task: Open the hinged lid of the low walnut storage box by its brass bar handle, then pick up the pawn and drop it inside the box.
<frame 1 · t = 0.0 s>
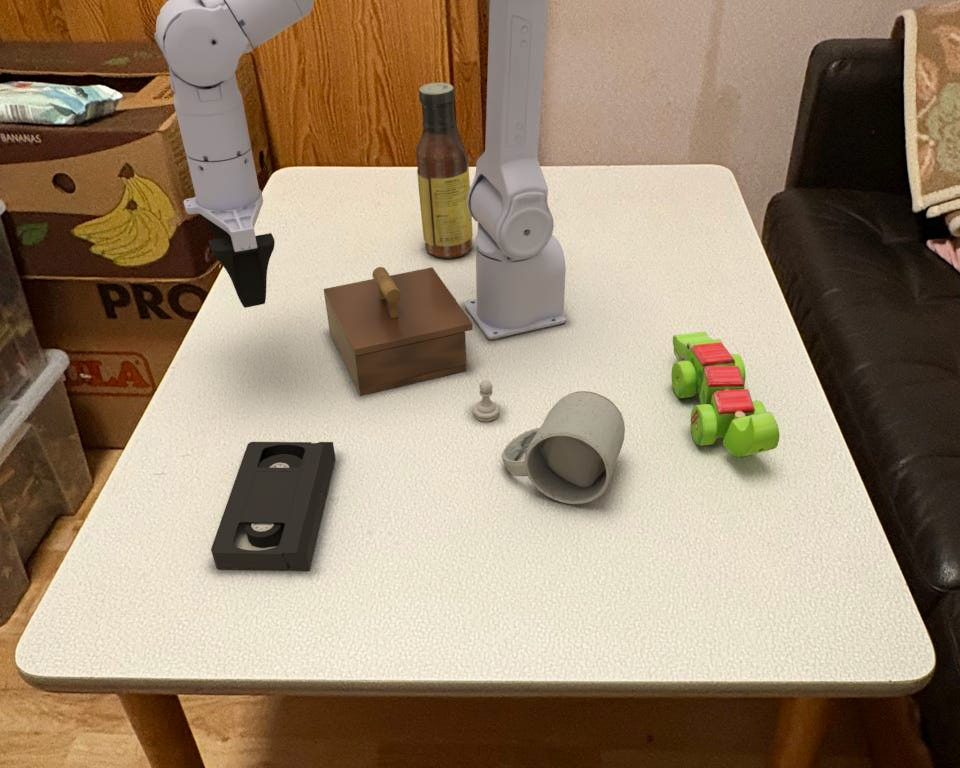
hand: (246, 285, 90), 10 cm above the table, tool pointing down, fingers open, 7 cm apart
sauce bottle: (447, 250, 116), on the table
vhs tape: (279, 511, 80), on the table
lid: (394, 294, 94), point 7 cm above the table, hinge at 0.0°
pawn: (486, 415, 90), on the table
ceramic mug: (560, 476, 83), on the table
toy crocodile: (714, 414, 90), on the table
box: (396, 351, 99), on the table
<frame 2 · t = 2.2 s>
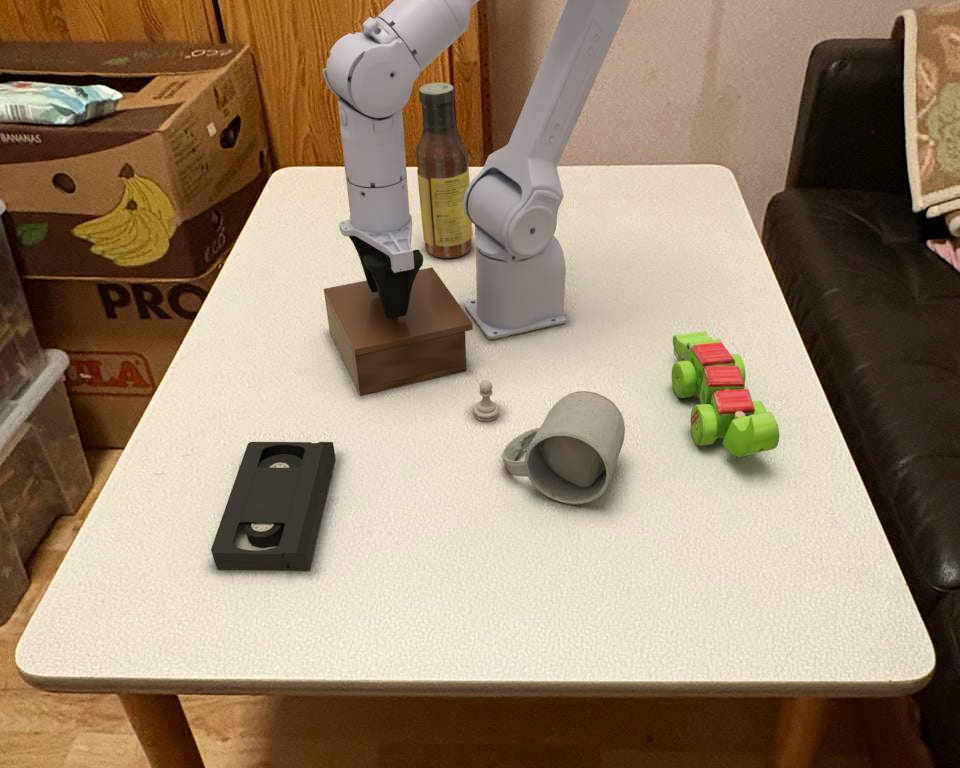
hand: (388, 302, 94), 6 cm above the table, tool pointing down, fingers closed on lid, 5 cm apart
lid: (394, 294, 94), point 7 cm above the table, hinge at 0.0°, touching gripper
everything else where it was.
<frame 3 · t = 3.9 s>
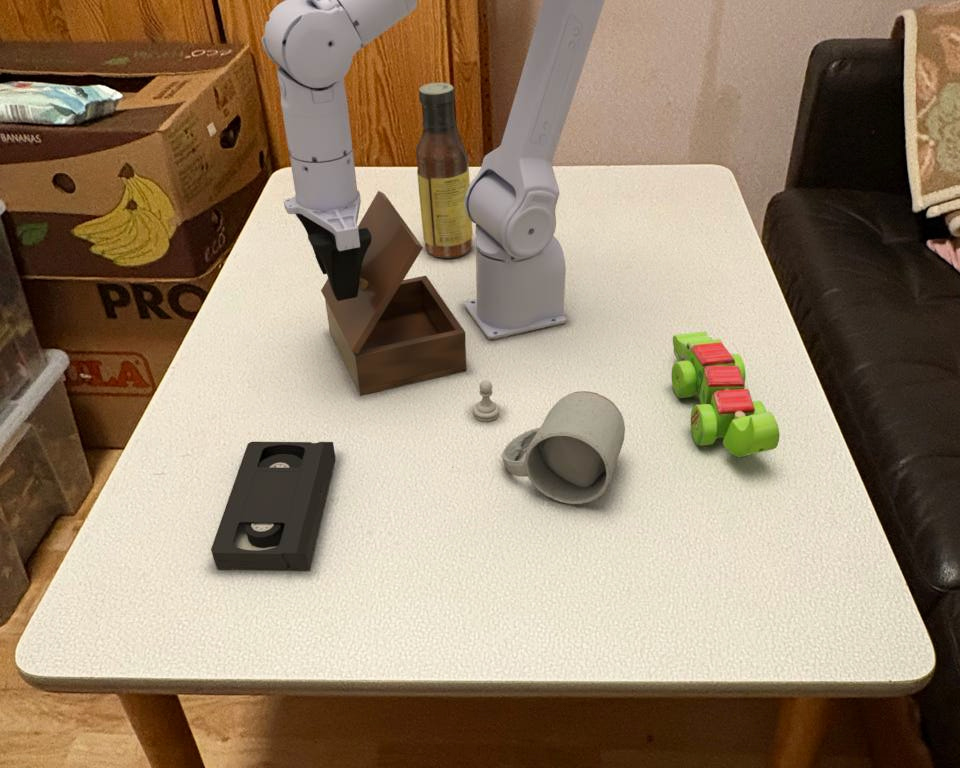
hand: (339, 283, 91), 9 cm above the table, tool pointing down, fingers closed on lid, 5 cm apart
lid: (354, 264, 90), point 11 cm above the table, hinge at 53.6°, touching gripper
everything else where it was.
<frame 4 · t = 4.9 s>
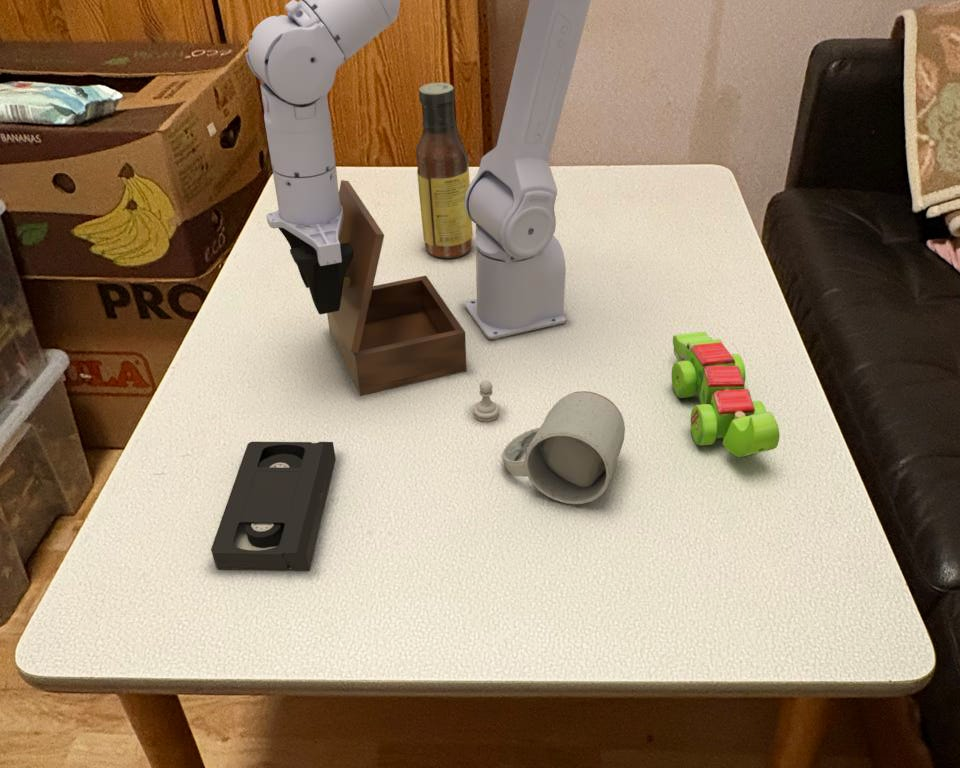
hand: (321, 297, 91), 8 cm above the table, tool pointing down, fingers closed on lid, 5 cm apart
lid: (333, 264, 89), point 12 cm above the table, hinge at 72.6°, touching gripper
everything else where it was.
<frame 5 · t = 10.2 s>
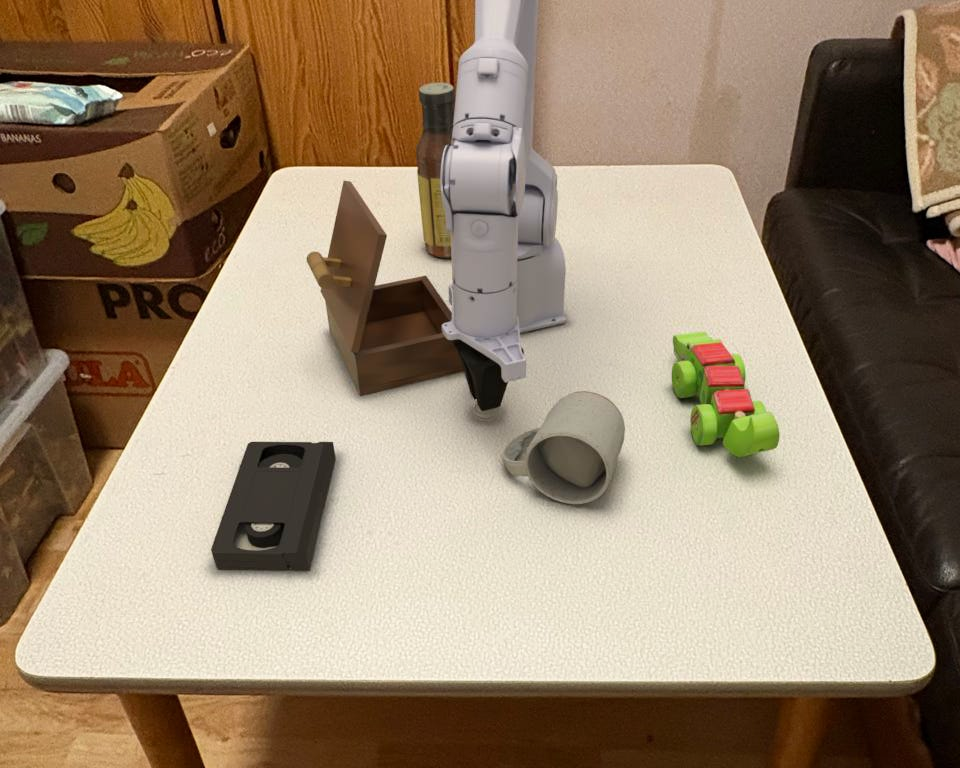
hand: (486, 401, 89), 2 cm above the table, tool pointing down, fingers closed on pawn
lid: (334, 263, 90), point 12 cm above the table, hinge at 71.5°
pawn: (486, 415, 90), on the table, touching gripper
everything else where it was.
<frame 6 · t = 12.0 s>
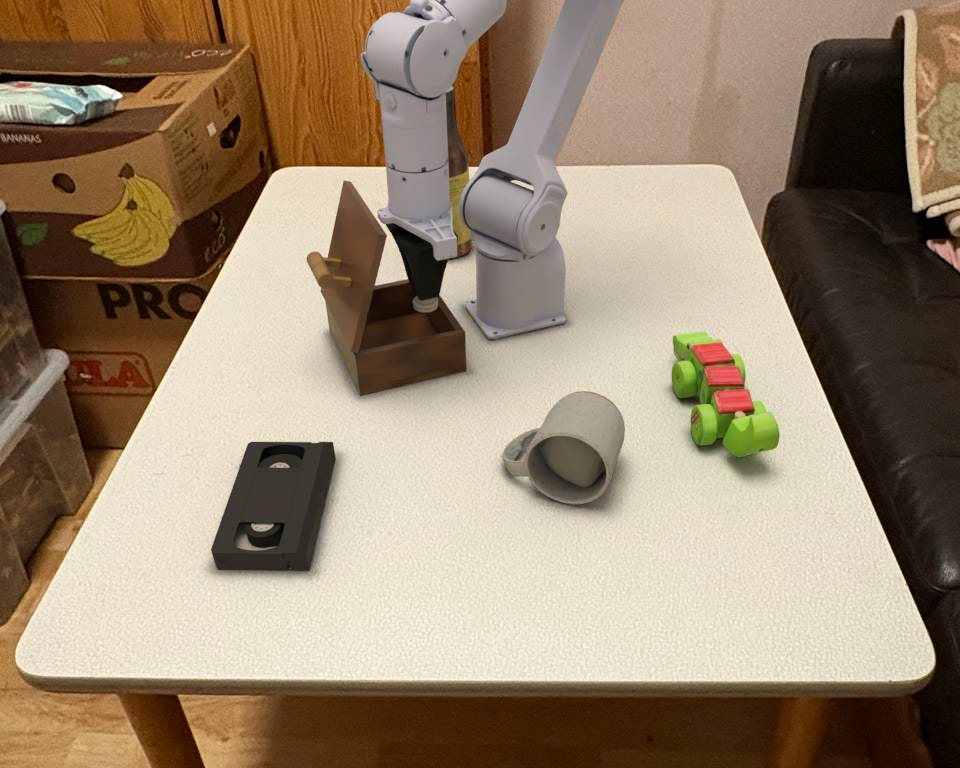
hand: (425, 292, 92), 8 cm above the table, tool pointing down, fingers closed on pawn
pawn: (425, 308, 93), point 7 cm above the table, touching gripper
everything else where it was.
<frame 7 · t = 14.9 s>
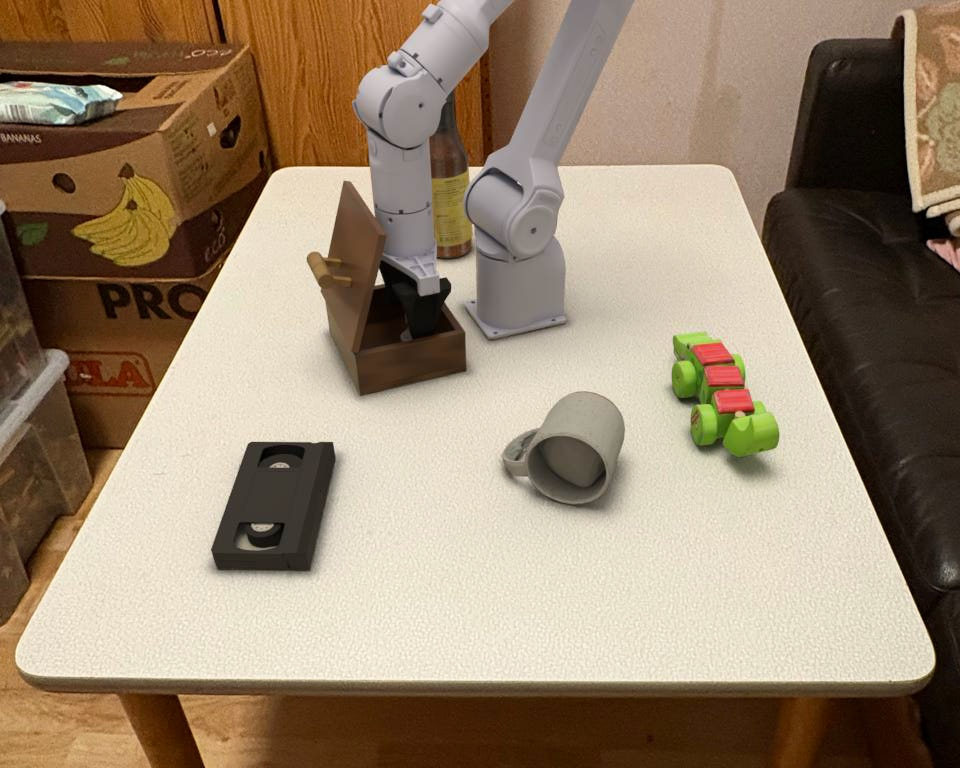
hand: (412, 322, 97), 3 cm above the table, tool pointing down, fingers open, 7 cm apart
pawn: (412, 343, 99), point 1 cm above the table, touching box
everything else where it was.
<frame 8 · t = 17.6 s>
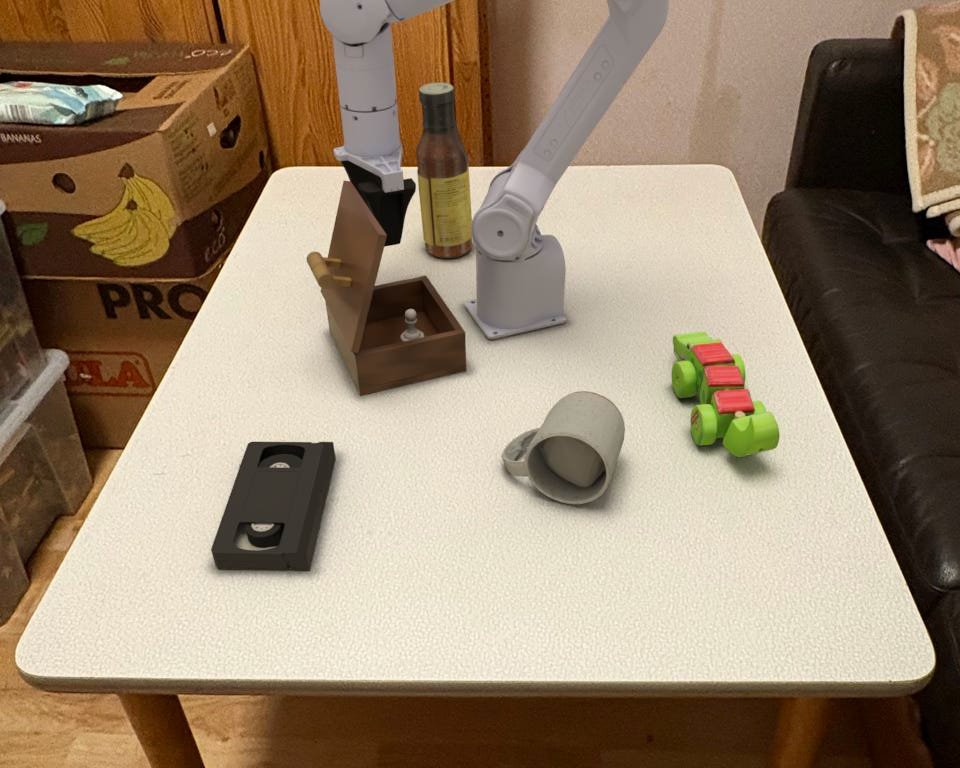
hand: (380, 228, 100), 9 cm above the table, tool pointing down, fingers open, 7 cm apart
nothing on the table moved.
at the end: lid at +72° (first picture: +0°); pawn inside the target area in the box (1.9 cm from its centre), point 0.6 cm above the box's base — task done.
